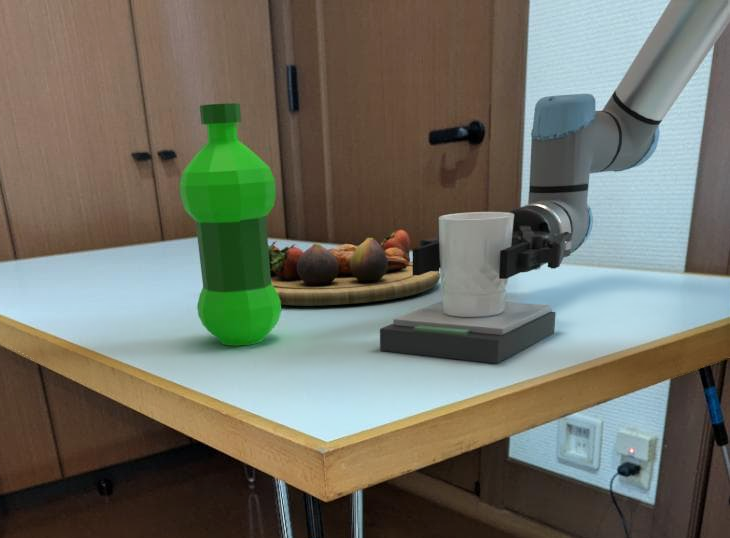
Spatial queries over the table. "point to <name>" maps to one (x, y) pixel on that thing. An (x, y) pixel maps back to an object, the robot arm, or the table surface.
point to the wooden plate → (347, 272)
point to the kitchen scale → (469, 332)
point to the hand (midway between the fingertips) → (458, 263)
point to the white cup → (473, 262)
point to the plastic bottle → (231, 231)
